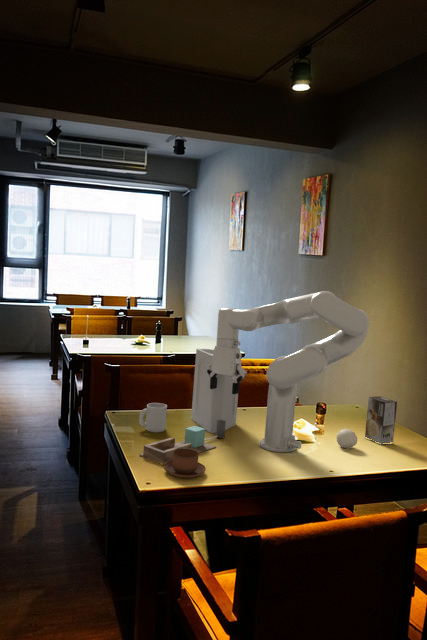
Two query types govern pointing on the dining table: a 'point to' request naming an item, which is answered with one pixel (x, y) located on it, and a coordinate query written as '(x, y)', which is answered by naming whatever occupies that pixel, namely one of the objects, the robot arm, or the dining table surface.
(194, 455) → the cup and saucer
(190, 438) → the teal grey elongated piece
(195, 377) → the tall white carton
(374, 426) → the coffee box
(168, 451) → the lane
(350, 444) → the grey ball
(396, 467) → the dining table surface
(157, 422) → the cup
